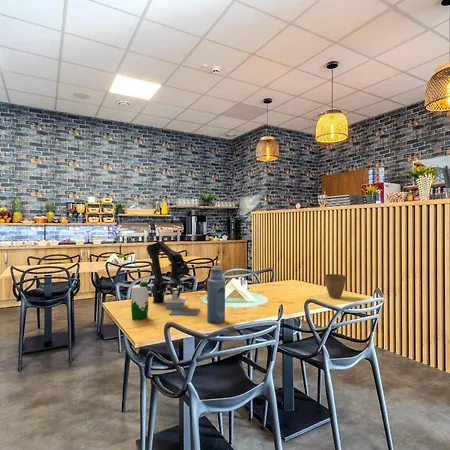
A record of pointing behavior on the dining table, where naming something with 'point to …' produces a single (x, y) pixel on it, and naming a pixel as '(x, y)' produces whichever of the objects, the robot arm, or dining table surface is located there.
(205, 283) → the ice cream bowl
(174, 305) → the dish
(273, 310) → the dining table surface
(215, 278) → the bottle
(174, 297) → the cover
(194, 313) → the mat
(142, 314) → the milk carton
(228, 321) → the dining table surface
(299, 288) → the dining table surface
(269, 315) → the dining table surface
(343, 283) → the plant pot
